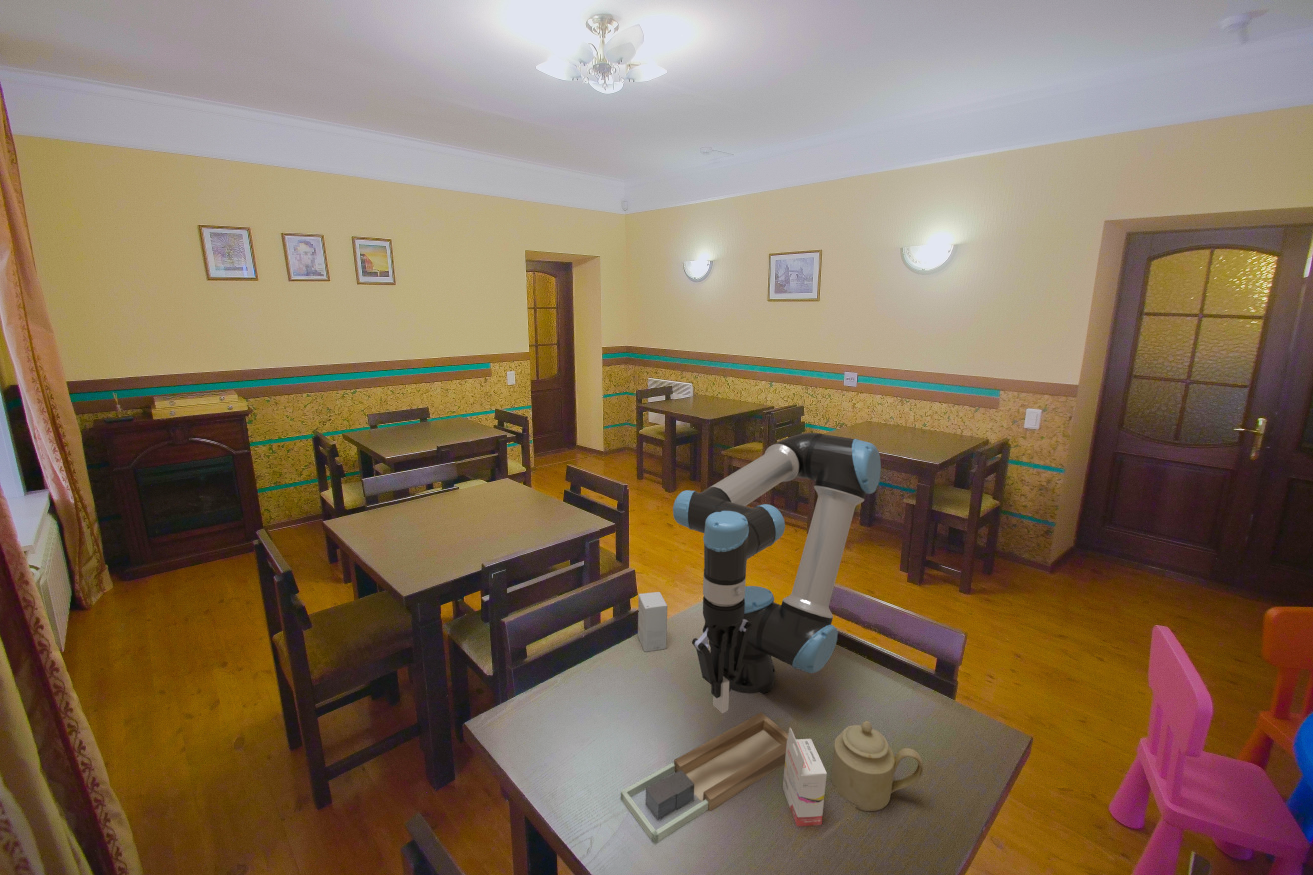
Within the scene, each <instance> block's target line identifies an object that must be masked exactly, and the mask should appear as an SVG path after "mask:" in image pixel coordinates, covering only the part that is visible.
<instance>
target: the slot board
mask: <svg viewBox="0 0 1313 875" xmlns="http://www.w3.org/2000/svg"><path fill="white" fill-rule="evenodd" d="M788 734H789V733H788V732H787V731H786V730H784V729H782V728H781V727H780V726H779V725H778V724H776V723H775V722H774V721H773V720H772V719H770V717H767V715H765V714H764V713H763V712H759V713H757V714H755V715H753V716H751V717H750V718H748V719H747V720H744V721H743V722H741V723H740V724H737V725H736V726H734V727H732V728H730V729H728V730H726V731H724V732H722V733H721V734H719V735H717V736H715V737H713V738H712V739H710V740H708V741H706V742H704V743H703V744H701V745H699V746H697V747H695V748H693V749H691V750H690V751H688V752H687V753H685V754H683V755H680V756H679V757H677V758H676V759H674V761H673V764H674V765H675V772H674V773H676V772H678V771H680V770H682V771H683V772H684V773H685V774H686V775H687V777H688V778H689V779H690V780H691V781H692V782H693V783H694V796H696V798H698V800H699V801H700V803H701V802H702V801H704V800H705V799H706V800H707V801H708V802H709V804H708V810H707V811H709V812H712V810H714V809H717V808H718V807H719V806H721V805H722V804H724V803H725V802H727V801H729V800H730V799H731V798H733V797H735V796H736V795H737V794H738V795H739V794H740V793H741V792H743V791H744V790H746V789H747V788H749V787H750V786H752V785H753V784H755V783H757V781H759V780H761V779H762V778H764V777H765V776H767V775H769V774H771V773H772V772H774V771H775V770H777V769H778V768H779V767H782V766H783V765H785V757H786V745H787V739H788Z"/></svg>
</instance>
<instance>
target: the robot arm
mask: <svg viewBox="0 0 1313 875" xmlns="http://www.w3.org/2000/svg"><path fill="white" fill-rule="evenodd" d="M881 465H882V464H881V454H880V452H879V450H878V448H877V447H876V445H874V443H872V442H868V441H865V440H860V439H857V438H851V437H850V438H849V437H844V436H837V435H836V436H835V435H830V434H824V433H820V432H806V433H805V432H804V433H800V434H799V433H798V434H795V435H793V436H790V437H786V438H783V439H781V440H778V441H777V442H775V443H773V444H772V445H770V446H768V447H767V448H766V450H765V452H764V454H763V455H761V456H760V457H758V458H756V459H754V460H753V461H751V462H749V463H748V464H747V465H744V466H743V467H741V468H739V469H737V470H736V471H735V472H733V473H731V474H730V475H728V476H726V477H725V478H723V479H721V480H719V481H718V482H716V483H715V484H713V485H711V486H709V487H708V488H706V489H704V490H703V491H701V492H698V491H696V490H689V489H688V490H687V489H686V490H683V491H681V492H680V493H679V494H678V495H677V497H676V498H675V499H674V502H673V507H672V514H673V515H672V516H673V519H674V520H675V521H676V523H677V524H678V525H681V526H683V527H686V528H688V529H689V530H692V531H695V532H699V533H702V534H703V537H702V538H703V539H702V540H703V553H704V554H703V559H704V561H703V562H704V563H703V564H704V566H703V567H704V568H703V583H702V584H703V586H702V595H703V597H702V615H703V619H704V625H703V628H702V635H700V637H699V638H697V637H695V638H693V639H692V641H691V644H692V646H693V647H694V648H695V649H696V653H697V659H698V663H699V667H700V671H701V676H702V678H703V680H705V681H706V682H707V683H708V684H709V685H710V687H711V688H710V689H711V690H710V692H711V695H712V698H713V699H712V706H713V707H714V708H716V709H717V710H718V711H719V712H720V713H721V714H725V713H726V712H728V711H729V701H730V692H731V691H734V692H737V693H742V694H759V693H760V694H761V695H764V694H766V693H768V692H769V691H771V689H773V687H774V686H775V681H776V669H775V666H774V663H773V658H775V659H777V660H779V661H781V662H783V663H785V664H787V665H789V666H791V667H792V668H793V669H795V670H800V671H803V672H805V673H808V674H815V673H817V672H819V671H820V670H823V668H824V667H825V665H826V664H827V663H828V661H829V660H830V658H831V657H832V655H833V652H834V651H835V648H836V645H837V642H838V635H839V631H838V628H836V627H835V626H834V625H833V624H832V623H833V619H834V615H833V613H832V611H831V610H830V607H829V606H830V602H831V599H832V595H833V591H834V588H835V584H836V580H837V576H838V572H839V570H840V566H841V565H840V564H841V561H842V558H843V554H844V550H845V546H846V543H847V539H848V535H849V531H850V528H851V525H852V524H851V523H852V520H853V517H854V513H855V508H856V507H857V506H858V505H859V504H862V503H863V502H864V501H865V500H866V495H871V494H873V493H875V492H876V491H877V488H878V487H879V484H880V480H881V472H882V471H881V469H882V466H881ZM797 478H798V479H807V480H810V481H813V482H815V483H814V485H813V486H814V487H813V488H814V491H816V494H817V500H816V503H815V506H814V510H813V515H812V519H811V521H810V526H809V528H808V533H807V535H806V536H807V537H806V539H805V543H804V547H803V550H802V554H801V559H800V561H799V565H798V568H797V571H796V572H797V573H796V576H795V580H794V584H793V587H792V591H791V594H789V595H788V596H786V597H784V598H783V599H782V601H781V604H779V603H776V602H775V596H774V594H773V592H772V591H771V590H769V589H768V588H765V587H763V586H757V585H747V586H746V580H747V579H746V576H747V574H746V573H747V561H748V560H749V559H751V558H752V557H753V556H755V555H756V554H758V553H760V552H761V551H763V550H766V549H767V548H768V547H772V546H773V545H774V544H775V542H777V541H778V540H779V539H781V538H782V537H783V535H784V533H785V529H786V523H785V522H786V521H785V518H784V517H783V514H782V513H781V511H780V510H779V509H778V508H777V507H775V506H774V505H771V504H768V503H766V504H765V503H763V504H760V505H756V506H754V507H749V506H748V505H749V504H751V503H752V502H754V501H755V500H757V499H758V498H760V497H762V496H763V495H765V493H766V494H767V492H769V491H770V490H772V489H773V488H775V487H777V485H779V484H780V483H782V482H785V483H786V482H791V481H792V480H794V479H797ZM709 648H710V649H709ZM772 657H773V658H772Z"/></svg>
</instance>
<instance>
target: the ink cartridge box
mask: <svg viewBox="0 0 1313 875" xmlns="http://www.w3.org/2000/svg"><path fill="white" fill-rule="evenodd" d="M787 734H788V739H787V745H786V757H785V763H784V771H783V782H782V790H783V793H784V796H785V798H786V801H787V804H788V807H789V809H790V812H791V814H792V817H793V819H794V822H795V826H796V827H807V826H809V827H810V826H820V825H821V826H822V823H823V815H824V814H823V813H824V805H825V804H824V803H825V793H826V783H827V775H828V774H827V773H828V772H827V771H826V768H825V765H824V764H823V761H822V760H821V757H820V755H819V753H818V751H817V749H816V746H815V745H814V742H813V740H812V738H802V739H801V738H800V739H798V738H796V737H795V736H796V735H795V734H794V731H793V730H792V727H790V726H789V729H788V733H787Z"/></svg>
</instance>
